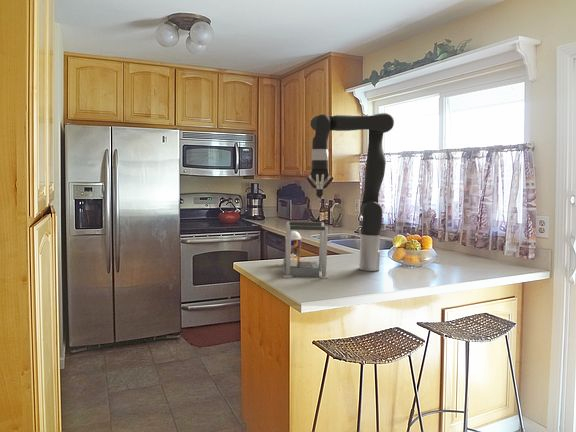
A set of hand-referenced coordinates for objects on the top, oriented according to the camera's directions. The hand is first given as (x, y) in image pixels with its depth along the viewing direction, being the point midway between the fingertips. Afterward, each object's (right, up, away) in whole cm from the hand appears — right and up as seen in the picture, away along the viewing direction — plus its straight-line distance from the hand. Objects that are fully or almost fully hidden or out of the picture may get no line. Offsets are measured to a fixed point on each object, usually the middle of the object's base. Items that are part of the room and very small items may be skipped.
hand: (319, 197), depth 206 cm
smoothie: (-12, -33, +18) cm, 40 cm away
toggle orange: (-11, -30, 0) cm, 33 cm away
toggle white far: (-12, -30, +5) cm, 33 cm away
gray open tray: (-9, -35, 0) cm, 36 cm away
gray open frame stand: (-7, -35, 0) cm, 36 cm away
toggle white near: (-12, -31, -5) cm, 33 cm away
